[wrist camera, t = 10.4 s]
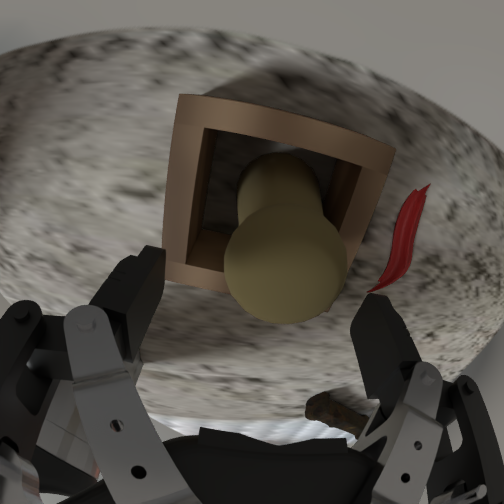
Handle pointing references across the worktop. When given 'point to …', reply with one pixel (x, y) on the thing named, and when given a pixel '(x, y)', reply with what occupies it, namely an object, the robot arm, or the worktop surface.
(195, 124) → the walnut collar
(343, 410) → the hand tool
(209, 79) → the worktop surface
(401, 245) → the cayenne pepper
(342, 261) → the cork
